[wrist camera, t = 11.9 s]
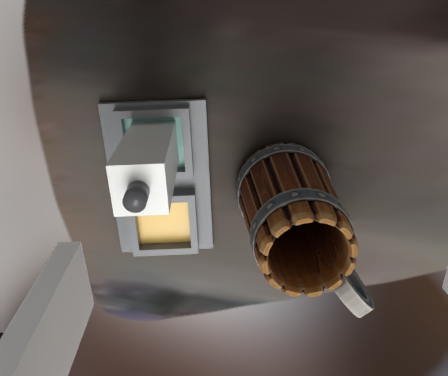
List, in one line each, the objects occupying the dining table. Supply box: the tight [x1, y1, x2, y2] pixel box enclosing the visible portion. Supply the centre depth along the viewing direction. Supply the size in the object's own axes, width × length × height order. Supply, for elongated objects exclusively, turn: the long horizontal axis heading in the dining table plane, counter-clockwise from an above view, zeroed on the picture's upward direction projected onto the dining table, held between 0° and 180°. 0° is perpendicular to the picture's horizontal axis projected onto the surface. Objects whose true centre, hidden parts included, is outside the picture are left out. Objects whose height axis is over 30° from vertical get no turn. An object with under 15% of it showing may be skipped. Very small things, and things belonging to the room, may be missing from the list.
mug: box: [236, 142, 374, 318], centre depth 41 cm, size 16×11×15 cm
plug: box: [106, 121, 179, 217], centre depth 37 cm, size 5×4×14 cm
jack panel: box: [98, 98, 213, 257], centre depth 45 cm, size 18×11×2 cm, turn 2°
